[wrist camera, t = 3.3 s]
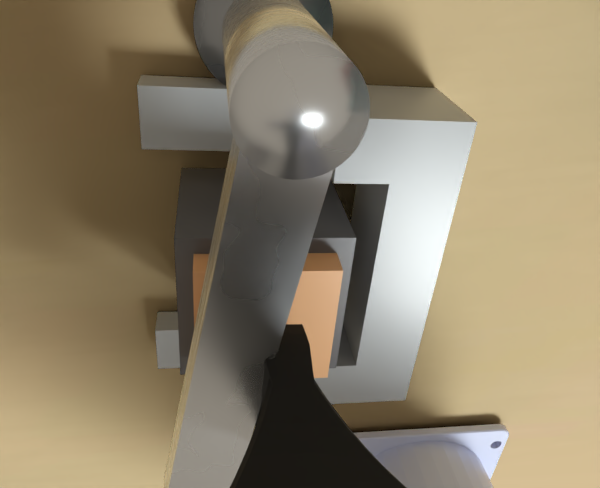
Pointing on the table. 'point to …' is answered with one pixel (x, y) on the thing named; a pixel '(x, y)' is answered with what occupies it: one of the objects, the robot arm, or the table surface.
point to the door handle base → (210, 20)
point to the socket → (365, 218)
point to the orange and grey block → (313, 282)
